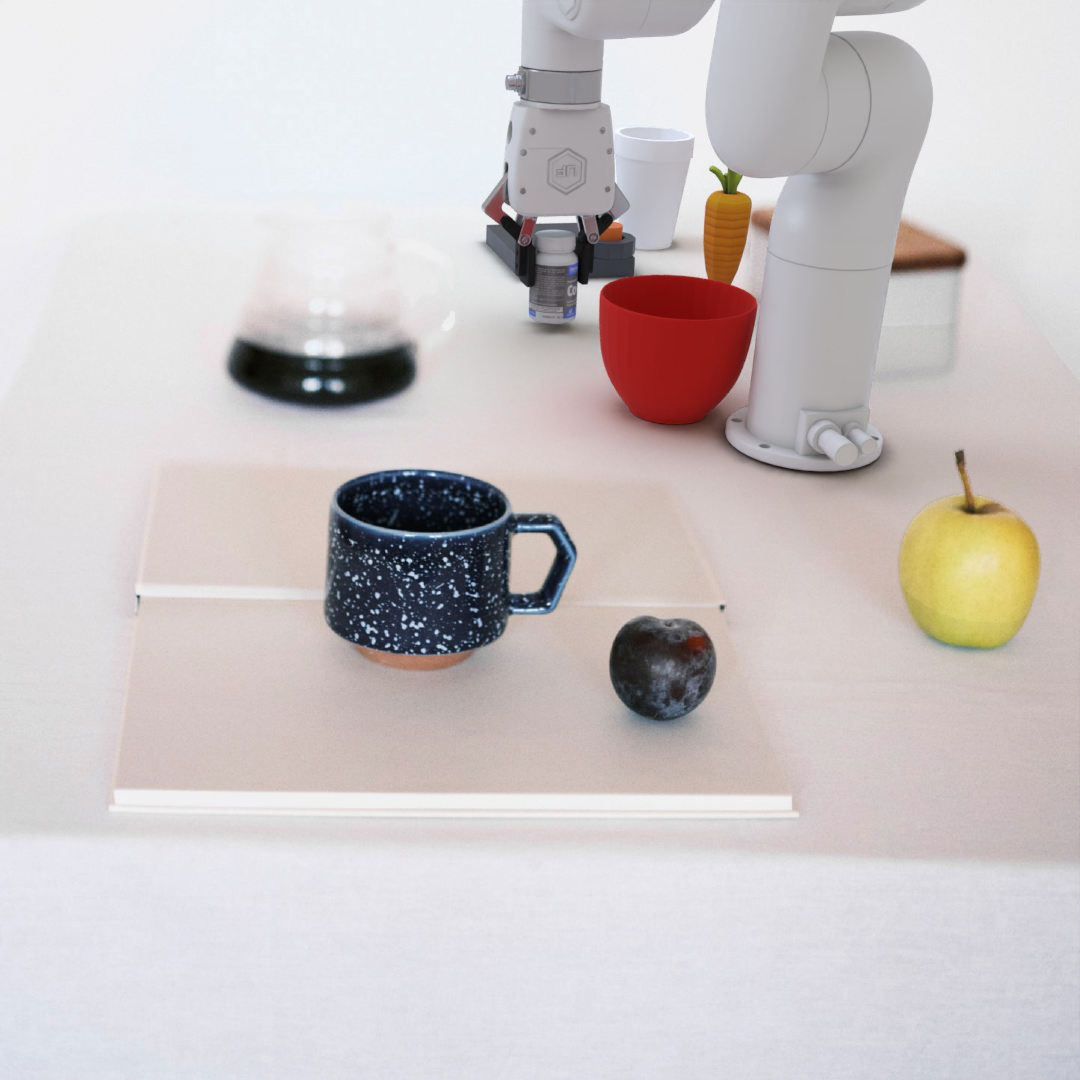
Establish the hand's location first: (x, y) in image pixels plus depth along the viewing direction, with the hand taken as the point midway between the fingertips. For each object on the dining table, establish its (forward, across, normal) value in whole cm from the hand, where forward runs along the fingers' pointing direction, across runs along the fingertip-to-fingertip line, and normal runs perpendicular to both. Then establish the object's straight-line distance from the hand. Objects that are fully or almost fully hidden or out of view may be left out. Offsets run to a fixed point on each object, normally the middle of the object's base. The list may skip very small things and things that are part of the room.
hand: (553, 280), depth 135 cm
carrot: (+5, +21, +7) cm, 22 cm away
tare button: (+1, +12, +18) cm, 22 cm away
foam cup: (+4, +21, +30) cm, 36 cm away
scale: (+4, +8, +24) cm, 25 cm away
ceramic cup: (+5, +5, -22) cm, 23 cm away
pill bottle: (+4, 0, 0) cm, 4 cm away
